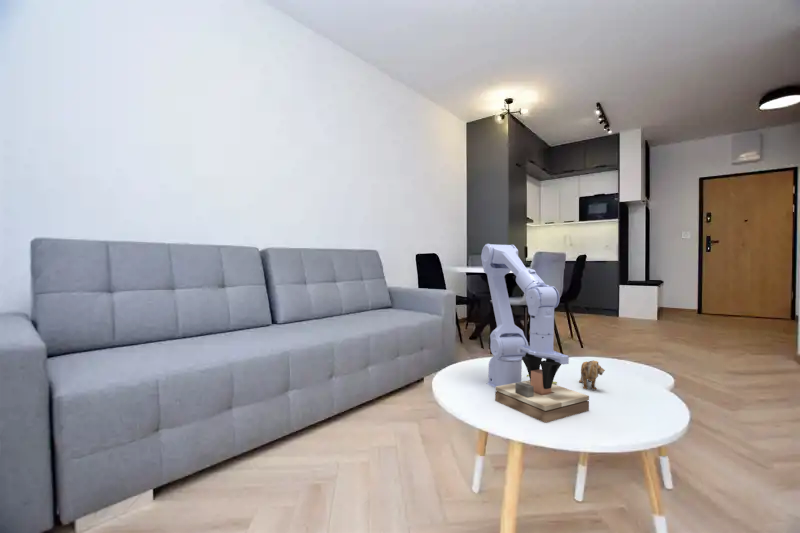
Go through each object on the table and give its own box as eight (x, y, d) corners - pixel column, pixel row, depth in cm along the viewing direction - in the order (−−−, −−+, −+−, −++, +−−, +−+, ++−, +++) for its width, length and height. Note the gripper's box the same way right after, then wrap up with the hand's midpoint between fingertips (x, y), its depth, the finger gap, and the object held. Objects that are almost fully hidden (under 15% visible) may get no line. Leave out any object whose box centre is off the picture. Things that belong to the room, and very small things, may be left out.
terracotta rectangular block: (530, 403, 97) (530, 370, 97) (539, 401, 99) (540, 369, 99) (541, 408, 94) (542, 374, 94) (550, 405, 96) (551, 372, 96)
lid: (495, 390, 99) (495, 377, 99) (536, 382, 107) (537, 370, 107) (545, 410, 86) (545, 395, 86) (589, 399, 93) (589, 385, 93)
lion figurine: (605, 394, 108) (606, 363, 108) (586, 392, 109) (586, 361, 109) (589, 379, 123) (589, 351, 123) (572, 378, 124) (572, 350, 124)
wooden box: (495, 402, 99) (495, 391, 99) (536, 393, 107) (536, 383, 107) (545, 425, 86) (545, 412, 86) (588, 413, 93) (588, 401, 93)
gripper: (509, 329, 101) (508, 380, 101) (555, 339, 88) (554, 397, 88) (527, 328, 104) (527, 376, 104) (574, 337, 92) (573, 392, 92)
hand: (540, 385), depth 96 cm, fingers closed on terracotta rectangular block, 3 cm apart
